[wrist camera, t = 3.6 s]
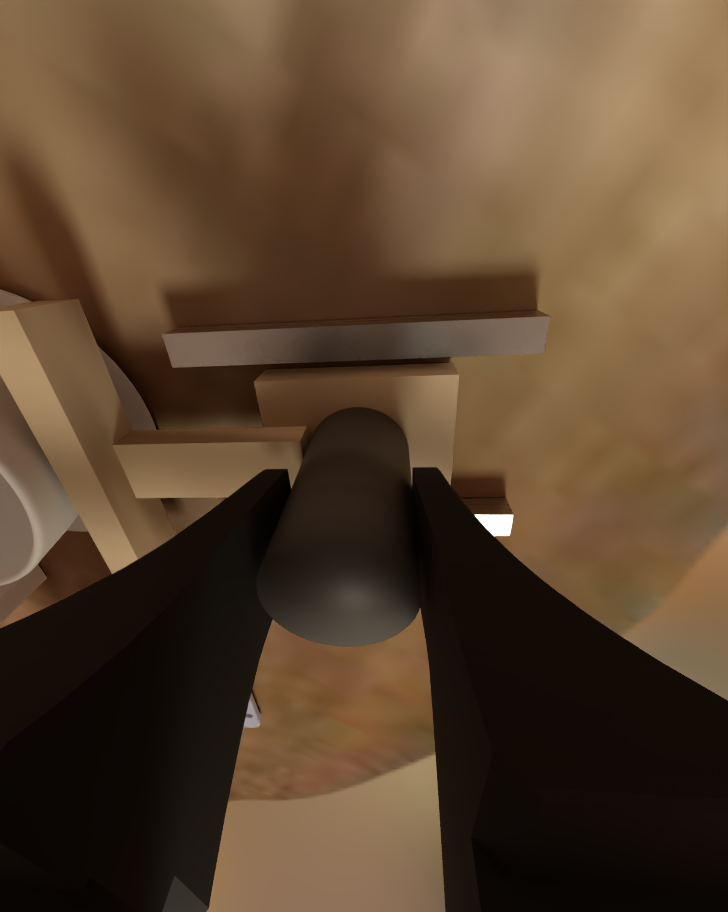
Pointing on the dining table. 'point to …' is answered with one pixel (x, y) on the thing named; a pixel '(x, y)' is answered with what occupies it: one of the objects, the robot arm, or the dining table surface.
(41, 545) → the teacup
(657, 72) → the dining table surface
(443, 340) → the rail
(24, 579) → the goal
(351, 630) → the pushrod
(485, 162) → the dining table surface
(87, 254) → the dining table surface
